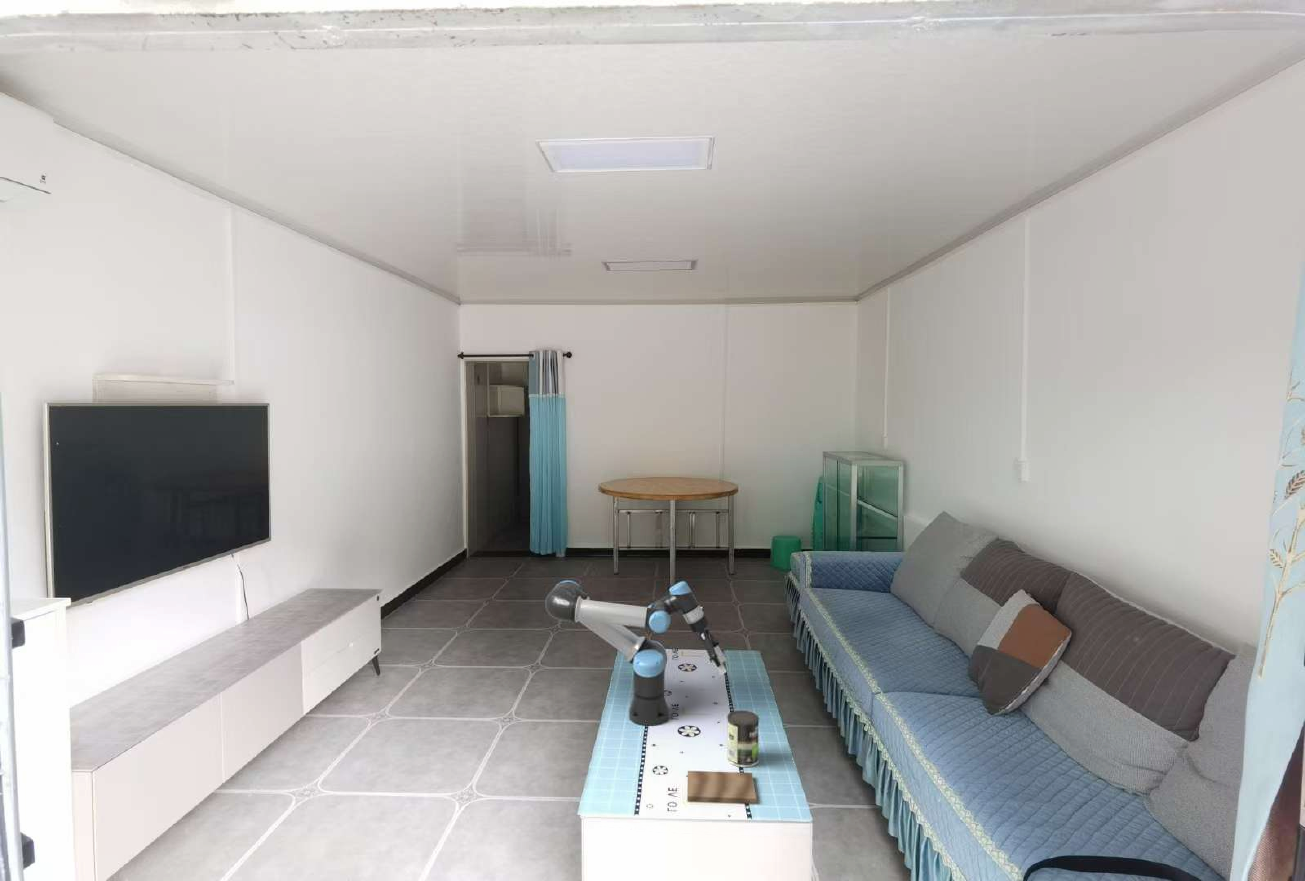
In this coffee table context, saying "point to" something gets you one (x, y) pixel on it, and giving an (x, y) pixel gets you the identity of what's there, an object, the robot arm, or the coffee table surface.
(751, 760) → the coffee can
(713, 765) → the coffee table surface
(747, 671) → the coffee table surface
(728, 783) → the walnut board
